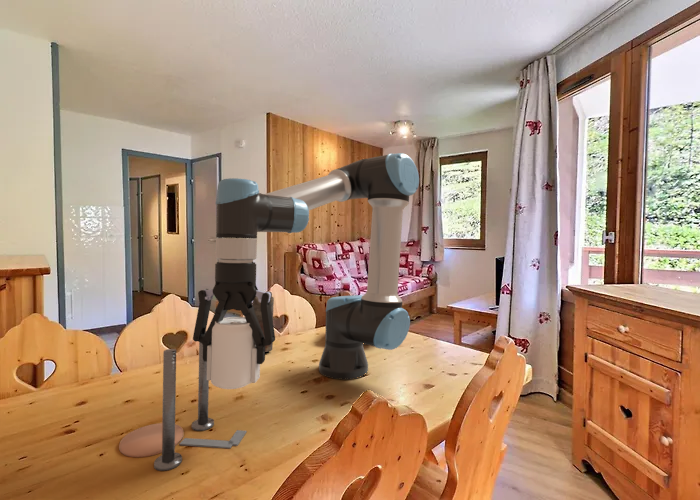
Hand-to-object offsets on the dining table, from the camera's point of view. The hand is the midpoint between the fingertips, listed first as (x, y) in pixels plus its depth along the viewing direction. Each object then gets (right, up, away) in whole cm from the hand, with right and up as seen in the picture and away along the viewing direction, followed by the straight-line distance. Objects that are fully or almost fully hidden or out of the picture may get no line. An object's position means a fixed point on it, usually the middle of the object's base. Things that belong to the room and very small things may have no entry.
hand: (233, 378), depth 70 cm
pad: (-16, -12, +1) cm, 20 cm away
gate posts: (-9, -13, +1) cm, 16 cm away
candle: (-9, -11, +58) cm, 59 cm away
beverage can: (0, -1, 0) cm, 1 cm away
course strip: (-5, -13, +2) cm, 14 cm away
